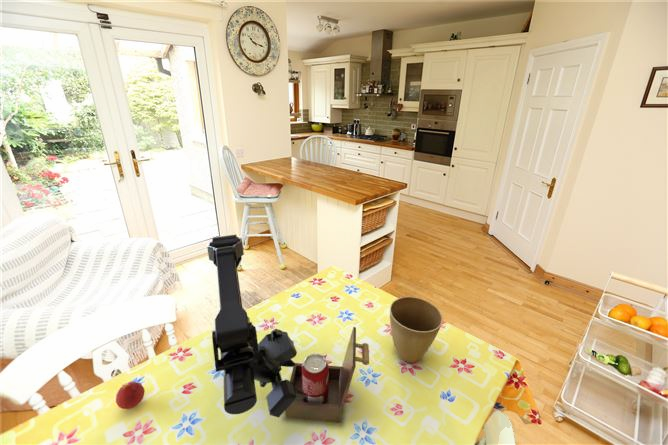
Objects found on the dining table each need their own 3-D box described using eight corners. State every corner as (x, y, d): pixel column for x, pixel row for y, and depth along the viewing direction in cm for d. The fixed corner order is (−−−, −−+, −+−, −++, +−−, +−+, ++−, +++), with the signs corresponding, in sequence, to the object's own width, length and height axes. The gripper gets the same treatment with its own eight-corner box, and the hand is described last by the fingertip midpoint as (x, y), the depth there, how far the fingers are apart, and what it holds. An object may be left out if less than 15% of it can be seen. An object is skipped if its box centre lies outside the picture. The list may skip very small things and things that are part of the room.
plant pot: (414, 383, 81) (422, 340, 74) (375, 349, 91) (379, 309, 85) (443, 355, 89) (453, 315, 83) (404, 328, 100) (410, 290, 93)
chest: (285, 417, 72) (284, 403, 70) (295, 376, 82) (294, 362, 80) (340, 422, 71) (341, 408, 69) (342, 379, 81) (343, 366, 79)
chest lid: (352, 366, 63) (371, 370, 63) (353, 326, 73) (369, 330, 73) (339, 407, 68) (357, 410, 68) (342, 365, 79) (357, 368, 79)
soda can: (325, 410, 73) (325, 377, 68) (299, 404, 74) (297, 371, 69) (331, 386, 79) (331, 354, 74) (307, 381, 80) (306, 349, 75)
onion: (142, 390, 78) (134, 368, 74) (151, 403, 74) (143, 382, 71) (117, 406, 74) (107, 384, 70) (125, 421, 70) (115, 399, 67)
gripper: (283, 368, 55) (335, 388, 63) (264, 307, 71) (308, 329, 79) (244, 411, 55) (302, 425, 64) (234, 341, 71) (281, 359, 79)
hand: (299, 379), depth 71 cm, fingers open, 9 cm apart
